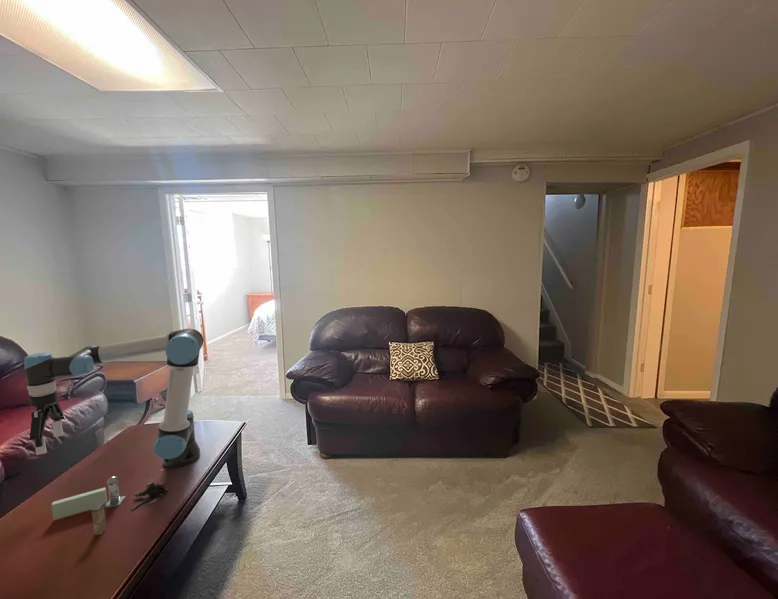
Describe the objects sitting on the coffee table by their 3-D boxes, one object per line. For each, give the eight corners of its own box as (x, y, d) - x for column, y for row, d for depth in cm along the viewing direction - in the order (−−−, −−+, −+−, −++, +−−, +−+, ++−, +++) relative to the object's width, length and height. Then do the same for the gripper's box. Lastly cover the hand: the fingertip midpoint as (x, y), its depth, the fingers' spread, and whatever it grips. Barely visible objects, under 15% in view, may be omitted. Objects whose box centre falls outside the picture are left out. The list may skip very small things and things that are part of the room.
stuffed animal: (173, 479, 147) (164, 479, 137) (170, 506, 143) (160, 508, 133) (141, 484, 144) (129, 484, 134) (137, 511, 140) (124, 513, 130)
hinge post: (125, 497, 138) (123, 472, 136) (118, 506, 133) (116, 480, 131) (111, 499, 137) (108, 473, 135) (104, 508, 132) (101, 481, 130)
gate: (107, 501, 134) (105, 487, 133) (106, 504, 133) (104, 490, 132) (54, 516, 126) (52, 501, 125) (53, 520, 124) (51, 505, 124)
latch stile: (107, 527, 123) (104, 502, 122) (101, 534, 120) (98, 509, 118) (99, 528, 122) (96, 503, 121) (93, 535, 119) (90, 510, 118)
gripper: (46, 383, 142) (53, 431, 144) (10, 408, 119) (19, 464, 122) (69, 380, 145) (76, 427, 147) (38, 404, 122) (47, 459, 125)
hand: (50, 444), depth 135 cm, fingers open, 13 cm apart
